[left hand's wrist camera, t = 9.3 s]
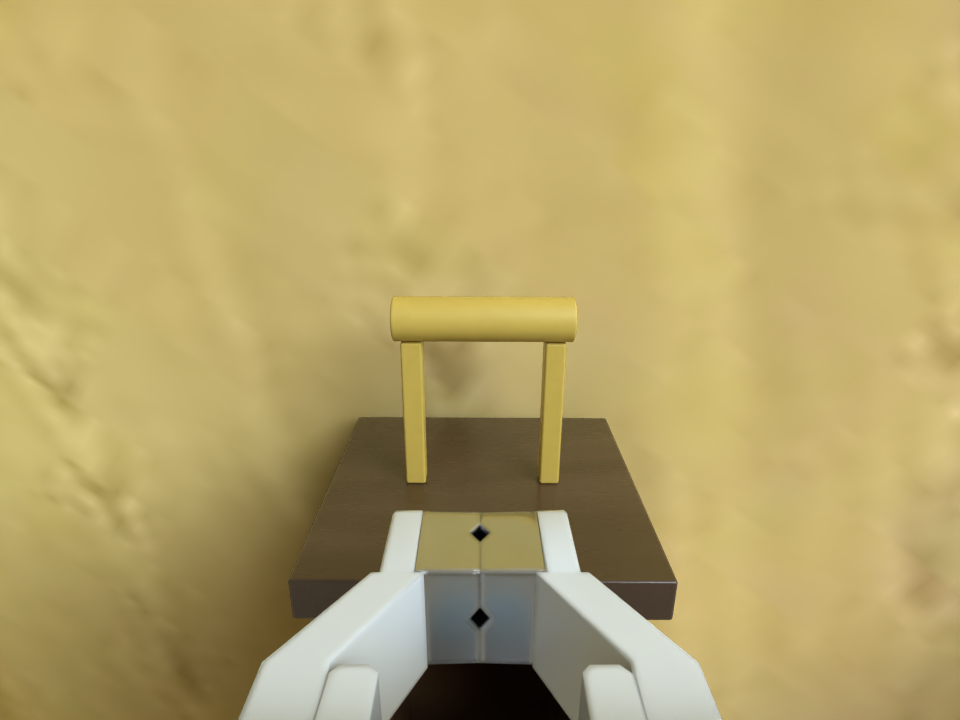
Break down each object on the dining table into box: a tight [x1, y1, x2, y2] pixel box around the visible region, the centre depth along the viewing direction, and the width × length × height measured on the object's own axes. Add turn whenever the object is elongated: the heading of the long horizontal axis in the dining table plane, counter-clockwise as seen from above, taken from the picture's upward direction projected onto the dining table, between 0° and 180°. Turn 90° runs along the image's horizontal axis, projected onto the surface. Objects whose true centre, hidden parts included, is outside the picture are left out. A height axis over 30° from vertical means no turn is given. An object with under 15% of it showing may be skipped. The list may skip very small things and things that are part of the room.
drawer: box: [288, 296, 677, 720], centre depth 21 cm, size 24×9×9 cm, turn 0°
